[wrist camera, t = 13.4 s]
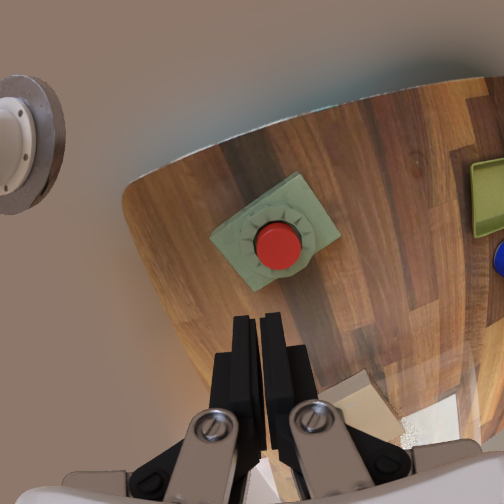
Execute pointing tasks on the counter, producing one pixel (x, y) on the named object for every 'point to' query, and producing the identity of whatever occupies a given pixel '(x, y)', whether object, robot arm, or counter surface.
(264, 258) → the button
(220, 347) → the counter surface
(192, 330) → the counter surface
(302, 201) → the green button base
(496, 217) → the green square tray
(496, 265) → the beverage can
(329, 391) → the panel
